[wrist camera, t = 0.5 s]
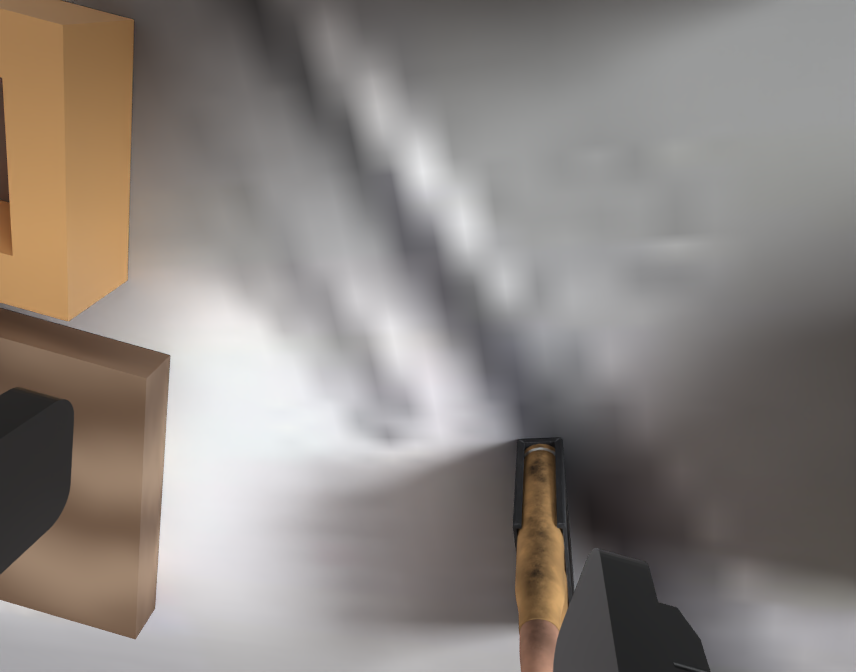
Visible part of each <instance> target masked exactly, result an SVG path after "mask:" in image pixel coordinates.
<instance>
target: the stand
mask: <svg viewBox="0 0 856 672" xmlns="http://www.w3.org/2000/svg"><path fill="white" fill-rule="evenodd" d="M169 367H170V355H167V354H163V353H160V352H156V351H153V350H149V349H145V348H142V347H138V346H135V345H131V344H127V343H124V342H120V341H117V340H113V339H110V338H106V337H102V336H99V335H95V334H92V333H88V332H85V331H81V330H77V329H74V328H70V327H67V326H63V325H60V324H56V323H52V322H49V321H45V320H42V319H38V318H34V317H31V316H27V315H24V314H20V313H17V312H13V311H9V310H6V309H2V308H0V395H1V394H3V393H4V392H6V391H8V390H10V389H12V388H15V387H22V388H26V389H30V390H33V391H37V392H40V393H44V394H48V395H51V396H55V397H58V398H62V399H66V400H68V401H69V402H71V404H72V406H73V409H74V430H73V449H72V468H71V486H70V492H69V496H68V499H67V502H66V505H65V507H64V509H63V511H62V513H61V515H60V516H59V518H58V519H57V521H56V522H55V523H54V525H53V526H52V527H51V528H50V529H49V530H48V531H47V532H46V533H45V534H44V535H42V536H41V537H40V538H39V539H38V540H37V541H36V542H35V543H34V544H33V545H32V546H31V547H30V548H28V549H27V550H26V551H25V552H24V553H23V554H22V555H21V556H20V557H19V558H18V559H17V560H16V561H14V562H13V563H12V564H11V565H10V566H9V567H8V568H7V569H6V570H5V571H4V572H3V573H2V574H0V600H3V601H6V602H10V603H13V604H17V605H20V606H24V607H27V608H30V609H34V610H37V611H41V612H44V613H47V614H51V615H54V616H58V617H61V618H64V619H68V620H71V621H75V622H78V623H81V624H85V625H88V626H92V627H95V628H99V629H102V630H105V631H109V632H112V633H116V634H119V635H122V636H126V637H129V638H133V639H136V638H137V636H138V635H139V633H140V631H141V630H142V628H143V627H144V625H145V624H146V622H147V620H148V619H149V617H150V616H151V614H152V612H153V611H154V609H155V600H156V583H157V566H158V550H159V533H160V517H161V500H162V483H163V467H164V450H165V433H166V417H167V400H168V384H169Z"/></svg>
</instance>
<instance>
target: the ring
mask: <svg viewBox="0 0 856 672" xmlns="http://www.w3.org/2000/svg"><path fill="white" fill-rule="evenodd" d="M133 44H134V20H133V19H129V18H125V17H122V16H118V15H114V14H110V13H107V12H103V11H99V10H95V9H91V8H88V7H84V6H80V5H76V4H73V3H69V2H65V1H61V0H0V77H1V78H2V81H3V98H4V115H5V132H6V149H7V166H8V183H9V200H10V203H9V202H6V201H2V200H0V303H4V304H8V305H11V306H15V307H18V308H22V309H25V310H29V311H33V312H36V313H40V314H43V315H47V316H51V317H54V318H58V319H61V320H65V321H70V320H71V319H73V318H74V317H76V316H77V315H79V314H80V313H81V312H83V311H84V310H86V309H87V308H89V307H90V306H91V305H93V304H94V303H96V302H97V301H99V300H100V299H102V298H103V297H104V296H106V295H107V294H109V293H110V292H112V291H113V290H114V289H116V288H117V287H119V286H120V285H122V284H123V283H125V282H126V281H127V280H128V241H129V202H130V162H131V123H132V83H133Z"/></svg>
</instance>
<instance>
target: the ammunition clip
mask: <svg viewBox="0 0 856 672" xmlns="http://www.w3.org/2000/svg"><path fill="white" fill-rule="evenodd" d="M513 531H514V539H515V547H516V578H515V594H516V601H517V607H518V612H519V634H520V664H521V672H553V662H554V653H555V647H556V642H557V638H558V634H559V631H560V628H561V625H562V622H563V620H564V617H565V615H566V612H567V609H568V607H569V604H570V602H571V599H572V596H573V594H574V581H573V568H572V555H571V542H570V530H569V517H568V504H567V491H566V478H565V466H564V453H563V440H562V439H561V438H548V439H521V440H518V441H517V458H516V477H515V496H514V515H513Z"/></svg>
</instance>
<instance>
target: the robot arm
mask: <svg viewBox="0 0 856 672" xmlns="http://www.w3.org/2000/svg"><path fill="white" fill-rule="evenodd" d="M73 430H74V409H73V406H72V404H71V402H69V401H68V400H66V399H62V398H58V397H55V396H51V395H48V394H44V393H40V392H37V391H33V390H30V389H26V388H22V387H15V388H12V389H10V390H8V391H6V392H4V393H3V394H1V395H0V574H2V573H3V572H4V571H5V570H6V569H7V568H8V567H9V566H10V565H11V564H12V563H13V562H14V561H16V560H17V559H18V558H19V557H20V556H21V555H22V554H23V553H24V552H25V551H26V550H27V549H28V548H30V547H31V546H32V545H33V544H34V543H35V542H36V541H37V540H38V539H39V538H40V537H41V536H42V535H44V534H45V533H46V532H47V531H48V530H49V529H50V528H51V527H52V526H53V525H54V523H55V522H56V521H57V519H58V518H59V516H60V515H61V513H62V511H63V509H64V507H65V505H66V502H67V499H68V496H69V492H70V486H71V468H72V449H73ZM553 672H710V669H709V665H708V662H707V659H706V656H705V653H704V650H703V646H702V643H701V640H700V638H699V637H698V635H697V634H696V633H695V631H694V630H693V629H692V627H691V626H690V625H689V623H688V622H687V621H686V619H685V618H684V616H683V615H682V614H681V612H680V611H679V610H678V608H676V607H673V606H669V605H666V604H662V603H658V600H657V597H656V593H655V589H654V585H653V581H652V577H651V573H650V569H649V566H648V564H647V563H646V562H644V561H641V560H637V559H634V558H630V557H626V556H623V555H619V554H616V553H612V552H608V551H605V550H601V549H598V548H594V549H593V550H592V551H591V552H590V554H589V556H588V558H587V560H586V563H585V565H584V568H583V571H582V573H581V576H580V578H579V581H578V583H577V586H576V589H575V591H574V594H573V596H572V599H571V602H570V604H569V607H568V609H567V612H566V615H565V617H564V620H563V622H562V625H561V628H560V631H559V634H558V638H557V642H556V647H555V653H554V662H553Z"/></svg>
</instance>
